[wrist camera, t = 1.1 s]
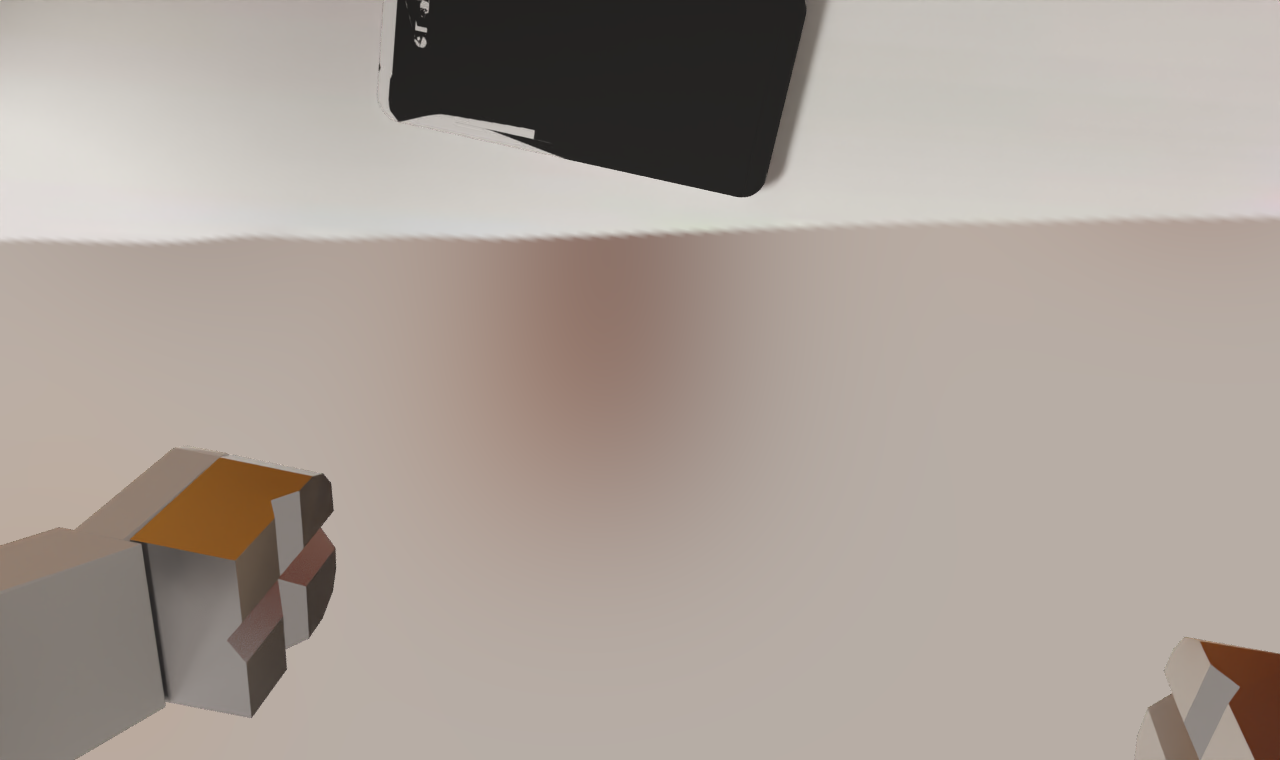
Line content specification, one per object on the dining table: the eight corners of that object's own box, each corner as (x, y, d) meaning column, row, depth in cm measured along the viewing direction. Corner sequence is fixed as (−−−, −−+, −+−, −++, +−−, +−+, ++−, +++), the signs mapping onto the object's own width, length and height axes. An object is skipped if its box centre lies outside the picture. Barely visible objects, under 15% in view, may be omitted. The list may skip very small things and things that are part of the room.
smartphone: (760, 202, 38) (375, 116, 39) (762, 192, 40) (388, 109, 40) (812, -12, 35) (389, -100, 36) (812, -15, 36) (403, -101, 37)
